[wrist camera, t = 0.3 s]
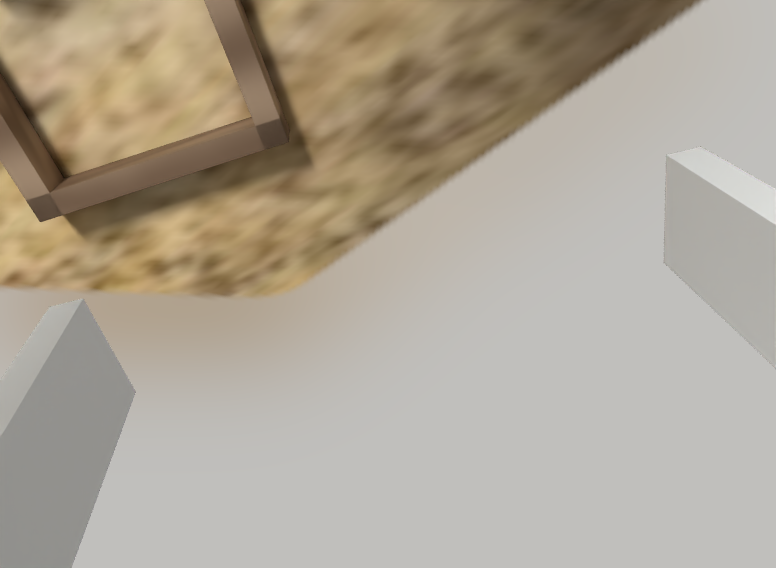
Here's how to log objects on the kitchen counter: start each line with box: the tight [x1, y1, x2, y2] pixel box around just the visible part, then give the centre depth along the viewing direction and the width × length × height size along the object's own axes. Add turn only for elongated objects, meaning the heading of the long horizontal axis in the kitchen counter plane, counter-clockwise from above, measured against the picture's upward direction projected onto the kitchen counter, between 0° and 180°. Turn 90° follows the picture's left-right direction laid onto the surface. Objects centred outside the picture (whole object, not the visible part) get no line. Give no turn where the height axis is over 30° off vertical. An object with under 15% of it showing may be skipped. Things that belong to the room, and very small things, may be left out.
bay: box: [0, 0, 290, 222], centre depth 35 cm, size 13×16×2 cm
